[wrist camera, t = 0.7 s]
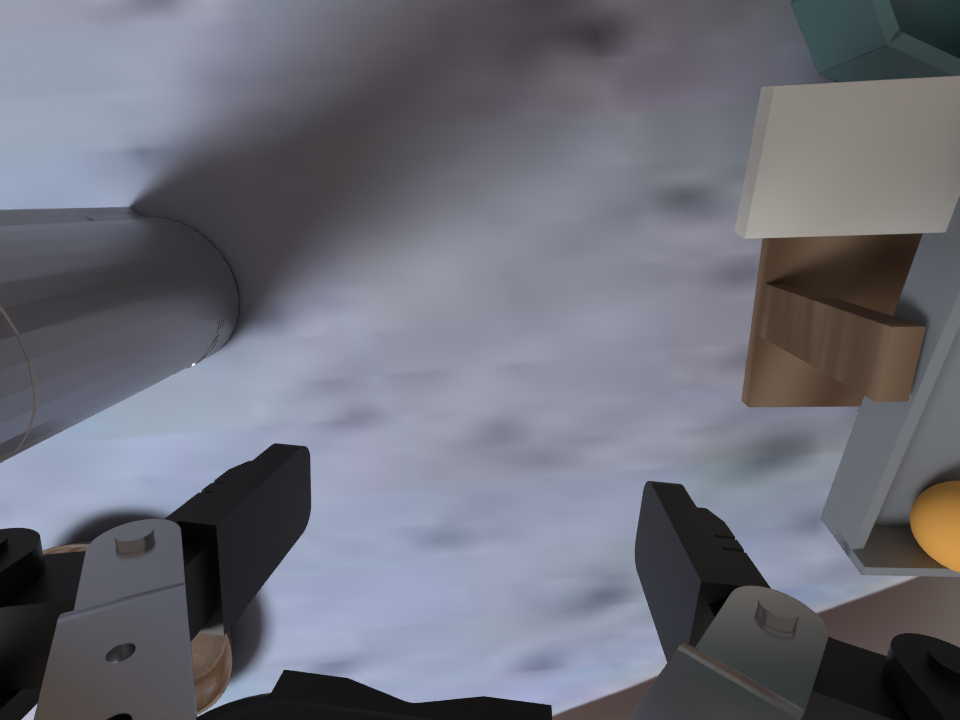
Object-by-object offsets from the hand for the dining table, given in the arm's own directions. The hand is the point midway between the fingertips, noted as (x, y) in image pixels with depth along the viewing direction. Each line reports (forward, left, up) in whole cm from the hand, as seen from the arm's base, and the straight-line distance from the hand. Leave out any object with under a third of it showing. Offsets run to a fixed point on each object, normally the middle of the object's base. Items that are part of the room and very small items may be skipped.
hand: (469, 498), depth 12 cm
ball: (+21, +8, -10) cm, 24 cm away
